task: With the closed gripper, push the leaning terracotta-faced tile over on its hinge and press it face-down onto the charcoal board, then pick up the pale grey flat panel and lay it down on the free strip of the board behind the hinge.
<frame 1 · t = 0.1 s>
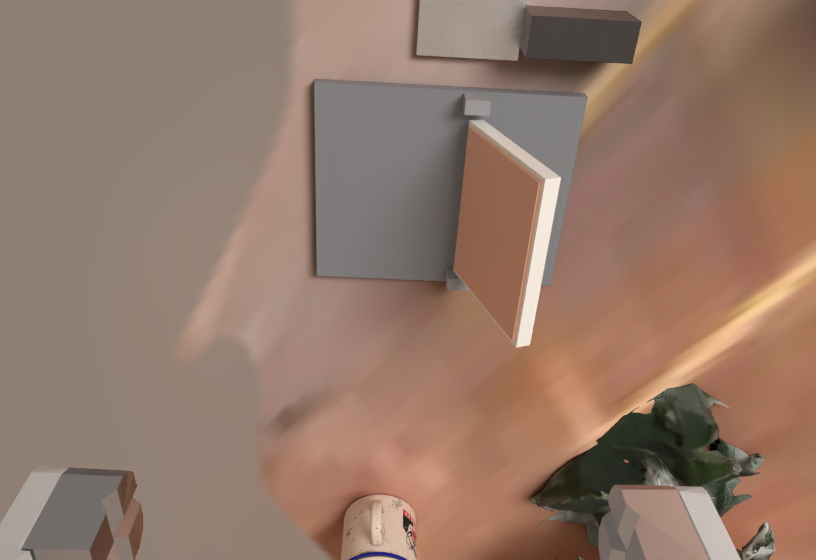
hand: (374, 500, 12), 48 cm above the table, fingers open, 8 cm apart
tile: (498, 231, 54), point 8 cm above the table, hinge at 70.0°
teacup with lid: (379, 507, 83), on the table
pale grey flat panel: (520, 25, 54), on the table
rose bouquet: (658, 492, 82), on the table
board: (441, 188, 61), on the table
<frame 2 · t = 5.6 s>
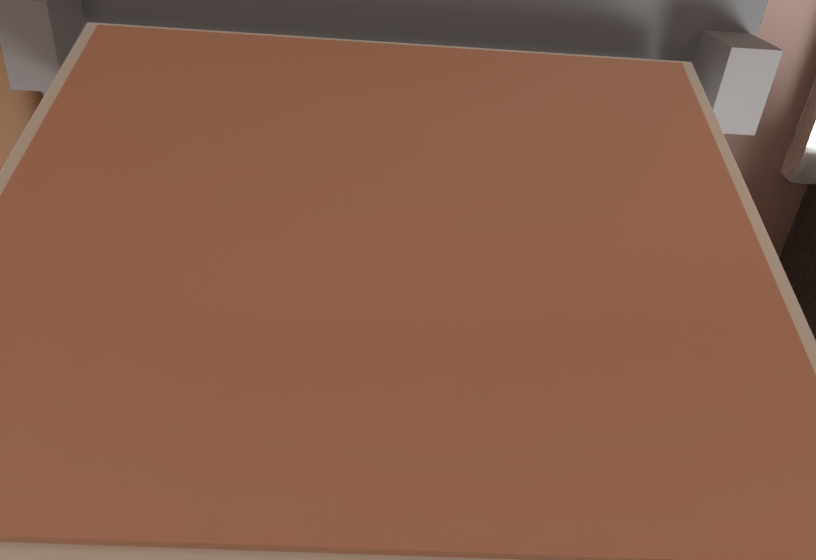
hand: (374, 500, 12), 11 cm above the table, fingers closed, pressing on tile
tile: (385, 248, 13), point 8 cm above the table, hinge at 71.6°, touching gripper
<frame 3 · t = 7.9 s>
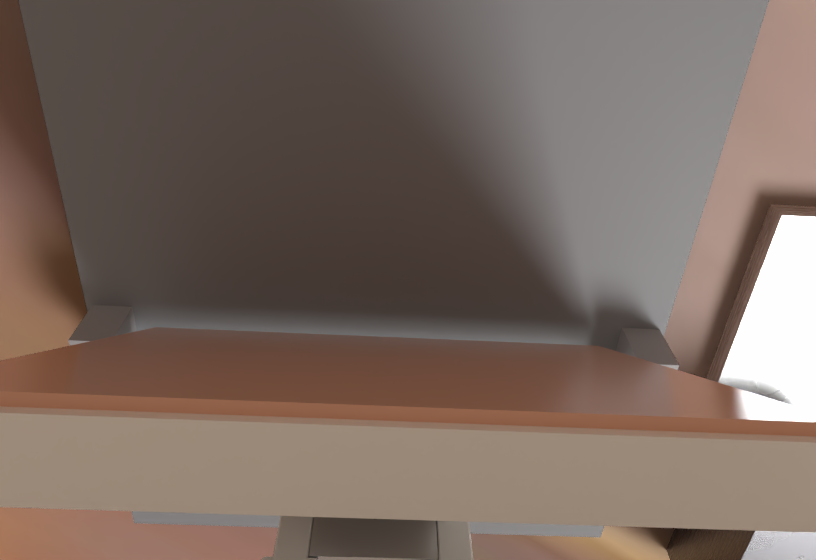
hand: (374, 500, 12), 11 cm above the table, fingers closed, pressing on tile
tile: (378, 390, 15), point 7 cm above the table, hinge at 121.5°, touching gripper
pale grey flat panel: (763, 407, 25), on the table
board: (382, 273, 22), on the table
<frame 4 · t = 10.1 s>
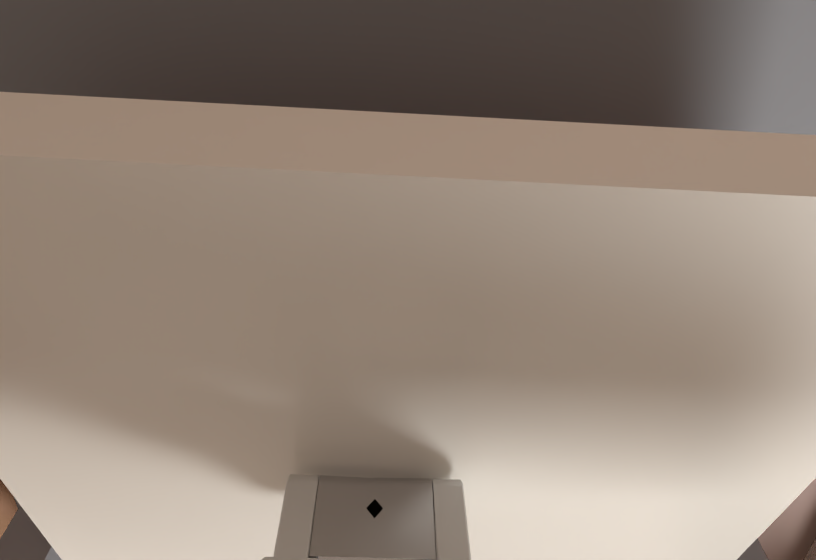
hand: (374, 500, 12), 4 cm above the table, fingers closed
tile: (402, 428, 12), point 3 cm above the table, hinge at 165.8°
board: (395, 454, 17), on the table
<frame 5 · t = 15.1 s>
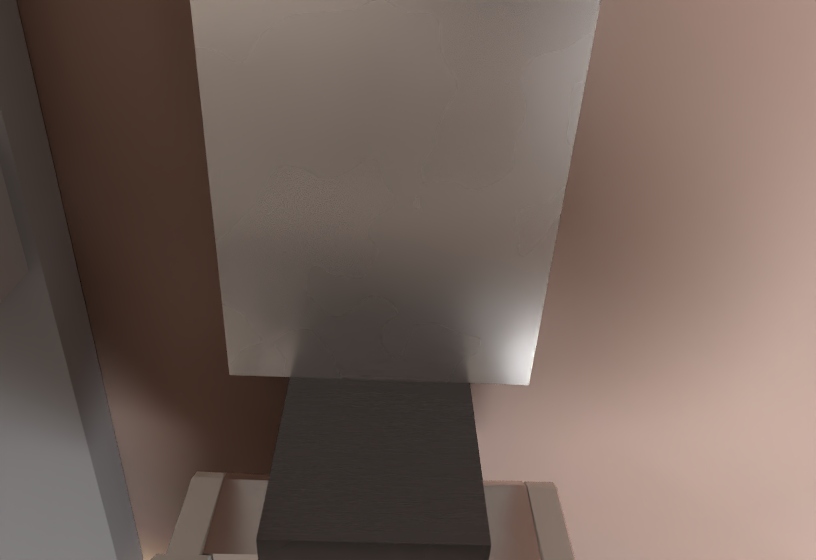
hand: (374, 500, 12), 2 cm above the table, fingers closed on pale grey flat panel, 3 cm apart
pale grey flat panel: (381, 350, 12), on the table, touching gripper
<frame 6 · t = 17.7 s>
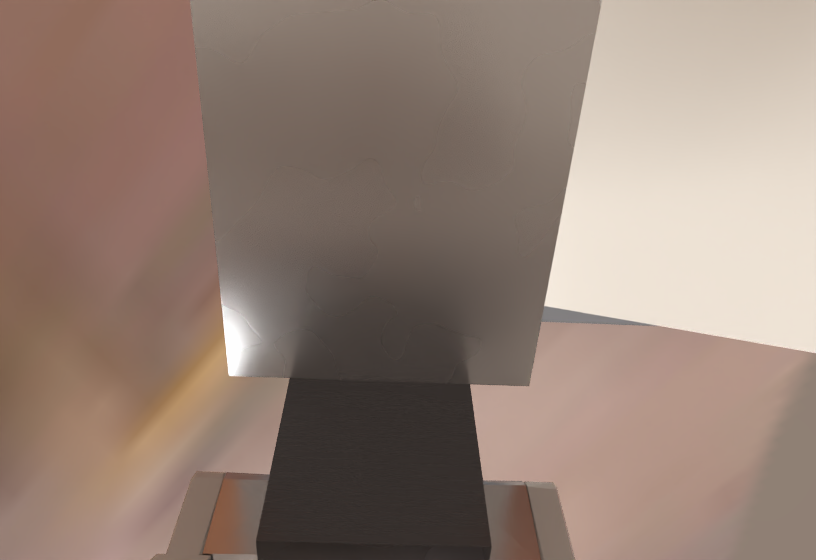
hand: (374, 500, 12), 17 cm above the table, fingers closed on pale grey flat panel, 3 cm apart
tile: (723, 143, 23), point 3 cm above the table, hinge at 165.8°
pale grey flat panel: (381, 351, 12), point 15 cm above the table, touching gripper
board: (579, 105, 25), on the table
when the fingers open (4 cm above the table, at t = 20.3 s): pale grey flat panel stays where it is, resting on board.
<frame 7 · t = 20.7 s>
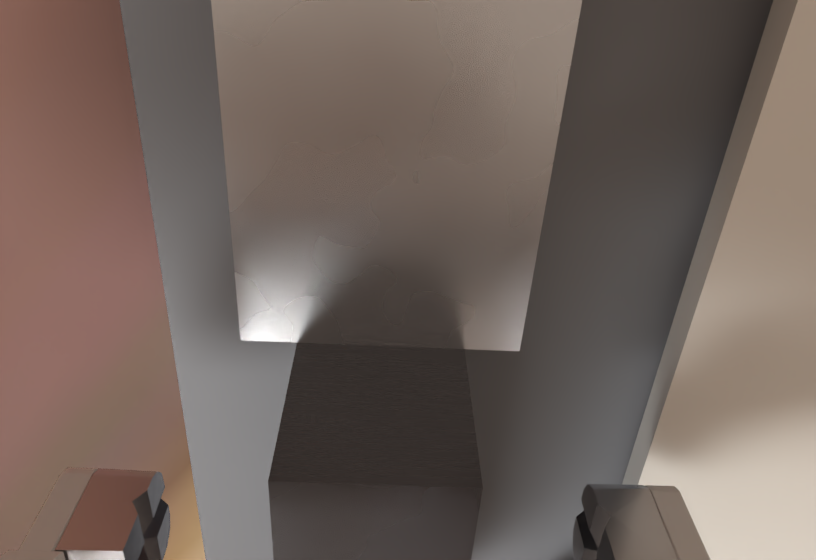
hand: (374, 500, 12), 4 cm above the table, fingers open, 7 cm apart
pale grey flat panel: (382, 320, 13), point 1 cm above the table, touching board
board: (724, 302, 14), on the table
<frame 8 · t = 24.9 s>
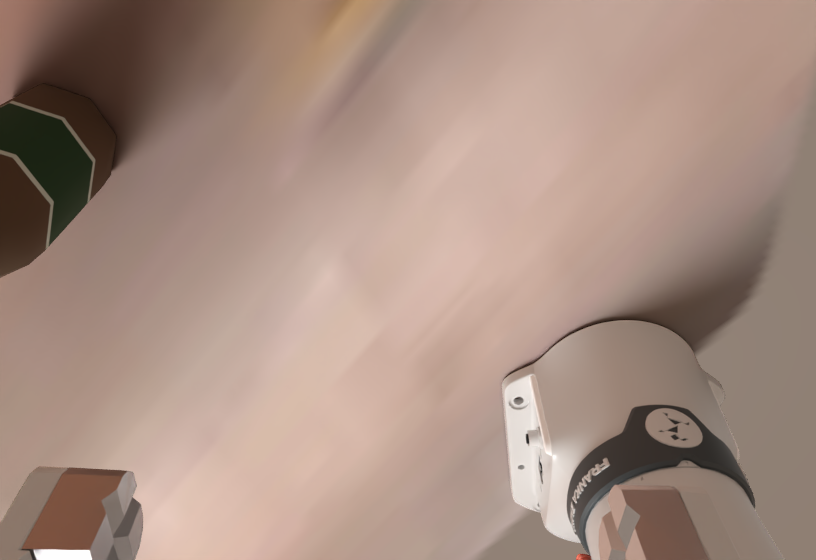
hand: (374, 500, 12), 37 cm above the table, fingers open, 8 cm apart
beer bottle: (64, 136, 47), on the table
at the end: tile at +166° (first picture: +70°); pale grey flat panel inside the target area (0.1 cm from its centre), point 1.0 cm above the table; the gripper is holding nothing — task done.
